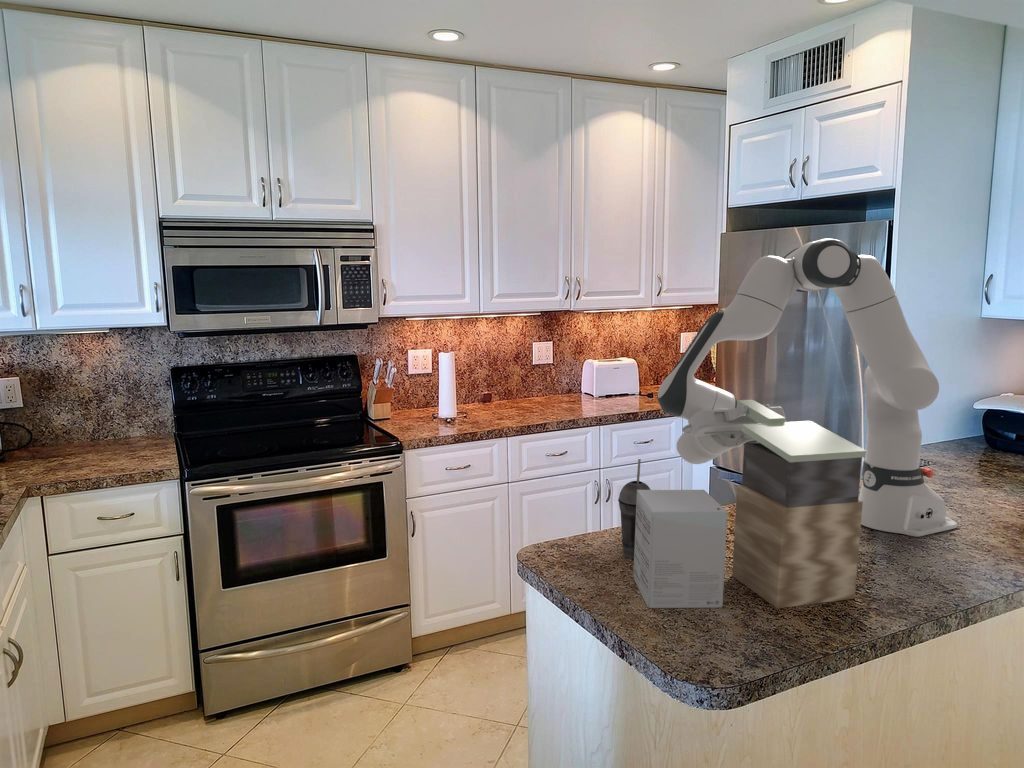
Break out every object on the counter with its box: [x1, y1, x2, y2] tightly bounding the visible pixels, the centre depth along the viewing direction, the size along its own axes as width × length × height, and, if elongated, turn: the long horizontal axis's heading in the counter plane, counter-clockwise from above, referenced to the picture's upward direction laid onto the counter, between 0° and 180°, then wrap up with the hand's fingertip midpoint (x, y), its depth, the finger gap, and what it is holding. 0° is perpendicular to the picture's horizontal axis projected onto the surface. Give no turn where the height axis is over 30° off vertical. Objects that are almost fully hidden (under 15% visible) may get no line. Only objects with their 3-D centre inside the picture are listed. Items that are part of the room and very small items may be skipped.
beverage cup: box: [617, 458, 652, 560], centre depth 144 cm, size 7×7×20 cm
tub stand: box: [731, 442, 863, 609], centre depth 129 cm, size 16×14×26 cm
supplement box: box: [632, 489, 728, 609], centre depth 127 cm, size 13×13×18 cm
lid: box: [736, 399, 866, 462], centre depth 132 cm, size 15×26×2 cm, turn 15°
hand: (756, 408), depth 140 cm, fingers closed on lid, 3 cm apart
